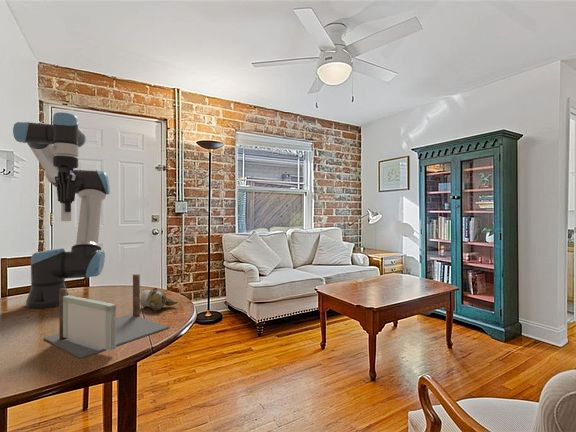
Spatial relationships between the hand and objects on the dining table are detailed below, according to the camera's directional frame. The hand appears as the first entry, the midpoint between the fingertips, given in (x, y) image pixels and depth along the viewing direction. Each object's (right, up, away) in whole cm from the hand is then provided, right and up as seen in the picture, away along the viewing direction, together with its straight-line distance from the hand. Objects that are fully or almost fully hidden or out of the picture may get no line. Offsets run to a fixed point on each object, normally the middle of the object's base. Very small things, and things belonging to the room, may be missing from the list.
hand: (66, 221), depth 119 cm
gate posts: (+18, -37, -7) cm, 41 cm away
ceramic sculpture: (+27, -37, +16) cm, 48 cm away
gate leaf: (+23, -35, -24) cm, 48 cm away
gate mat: (+23, -37, -12) cm, 45 cm away
